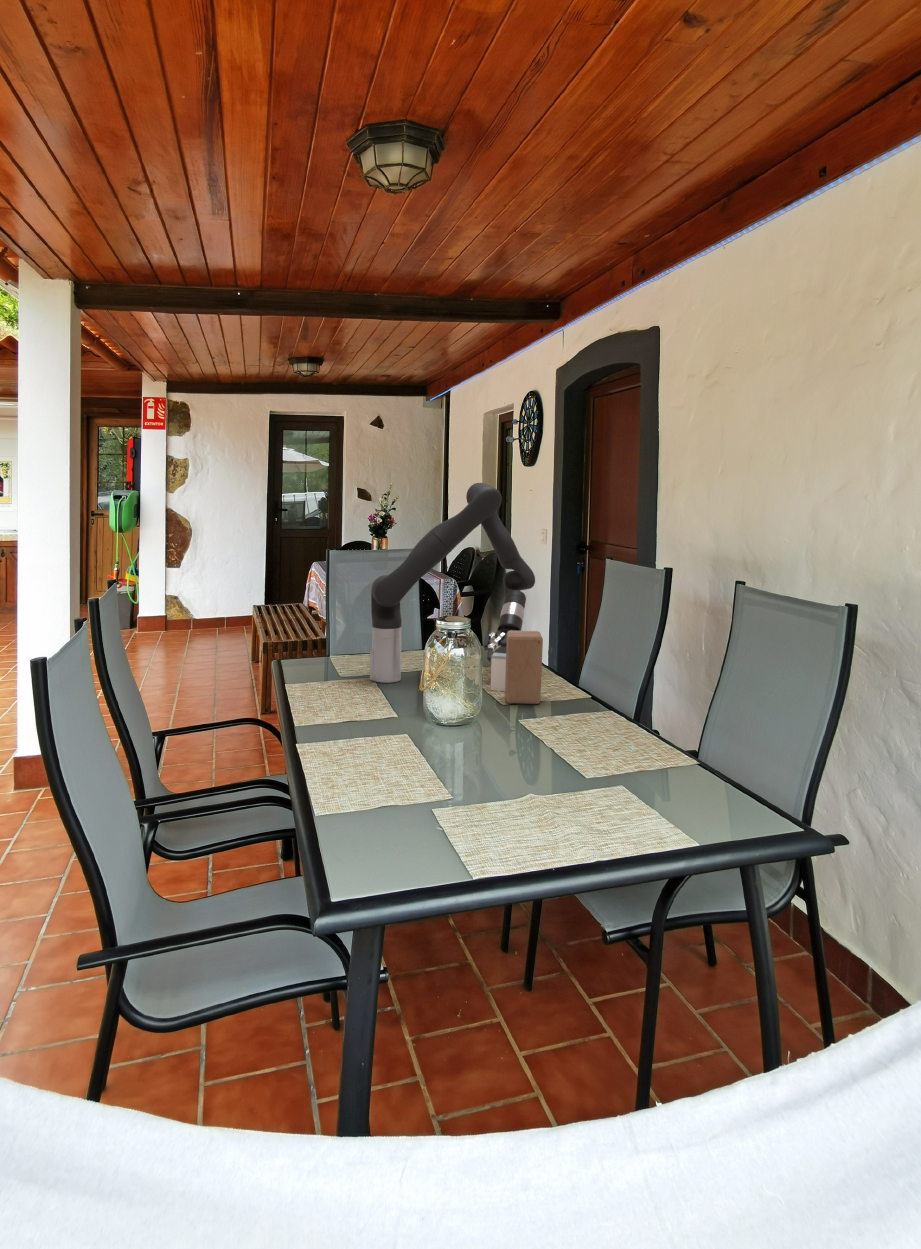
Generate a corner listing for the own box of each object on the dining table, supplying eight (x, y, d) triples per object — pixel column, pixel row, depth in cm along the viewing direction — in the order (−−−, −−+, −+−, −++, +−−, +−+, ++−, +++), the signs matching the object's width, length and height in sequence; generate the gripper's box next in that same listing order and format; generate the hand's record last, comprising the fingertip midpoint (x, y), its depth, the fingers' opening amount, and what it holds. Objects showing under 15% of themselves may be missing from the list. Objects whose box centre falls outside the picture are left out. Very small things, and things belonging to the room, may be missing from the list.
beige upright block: (490, 690, 250) (491, 655, 248) (494, 686, 255) (495, 652, 253) (506, 691, 249) (507, 656, 247) (509, 687, 254) (510, 653, 252)
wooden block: (540, 705, 234) (543, 636, 231) (505, 704, 234) (508, 635, 231) (538, 696, 244) (540, 630, 241) (504, 695, 244) (506, 629, 241)
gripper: (488, 611, 261) (479, 653, 252) (532, 613, 258) (524, 656, 249) (491, 625, 267) (482, 666, 258) (534, 627, 264) (526, 669, 255)
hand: (503, 661), depth 253 cm, fingers open, 8 cm apart
